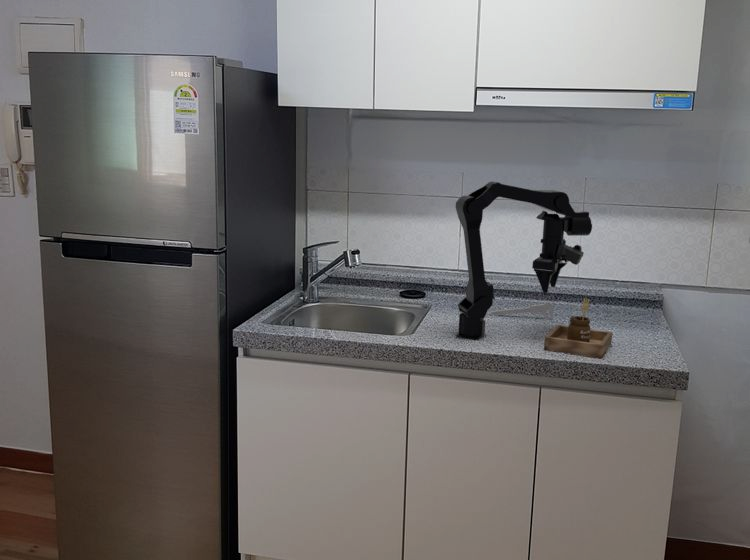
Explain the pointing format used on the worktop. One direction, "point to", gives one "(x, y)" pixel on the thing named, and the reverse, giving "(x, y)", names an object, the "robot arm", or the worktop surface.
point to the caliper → (527, 310)
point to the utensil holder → (579, 326)
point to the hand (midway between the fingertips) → (549, 289)
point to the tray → (578, 342)
